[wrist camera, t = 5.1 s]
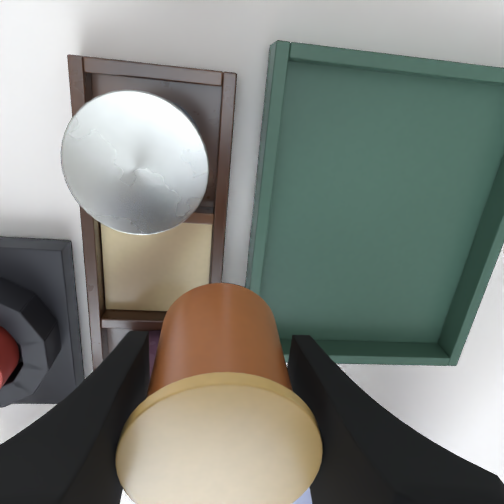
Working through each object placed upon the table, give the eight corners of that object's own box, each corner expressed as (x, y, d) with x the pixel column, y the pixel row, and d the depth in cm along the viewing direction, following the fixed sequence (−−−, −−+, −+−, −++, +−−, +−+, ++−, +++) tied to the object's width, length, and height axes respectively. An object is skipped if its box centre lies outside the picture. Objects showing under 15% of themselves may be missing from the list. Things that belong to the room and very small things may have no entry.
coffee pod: (294, 274, 13) (340, 384, 9) (278, 385, 15) (307, 526, 11) (149, 268, 13) (108, 382, 8) (151, 384, 15) (119, 532, 10)
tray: (534, 76, 19) (568, 75, 17) (439, 345, 25) (456, 366, 23) (269, 44, 17) (276, 39, 15) (239, 340, 24) (241, 362, 22)
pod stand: (235, 73, 18) (237, 72, 16) (211, 397, 25) (211, 415, 24) (78, 56, 17) (66, 54, 15) (103, 396, 24) (96, 415, 23)
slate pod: (213, 94, 17) (212, 98, 13) (207, 199, 19) (205, 239, 15) (100, 82, 17) (52, 81, 12) (106, 192, 19) (67, 231, 14)
